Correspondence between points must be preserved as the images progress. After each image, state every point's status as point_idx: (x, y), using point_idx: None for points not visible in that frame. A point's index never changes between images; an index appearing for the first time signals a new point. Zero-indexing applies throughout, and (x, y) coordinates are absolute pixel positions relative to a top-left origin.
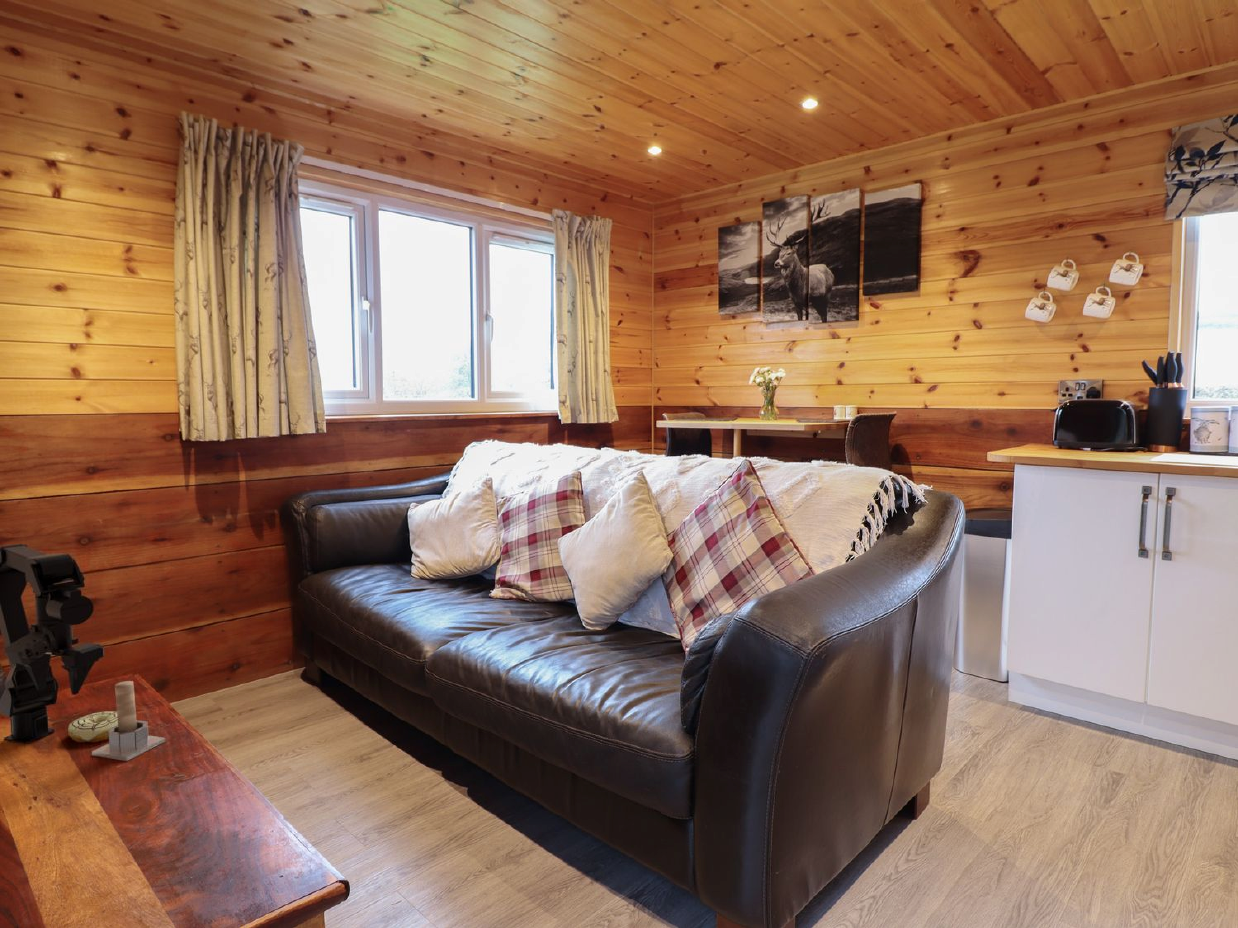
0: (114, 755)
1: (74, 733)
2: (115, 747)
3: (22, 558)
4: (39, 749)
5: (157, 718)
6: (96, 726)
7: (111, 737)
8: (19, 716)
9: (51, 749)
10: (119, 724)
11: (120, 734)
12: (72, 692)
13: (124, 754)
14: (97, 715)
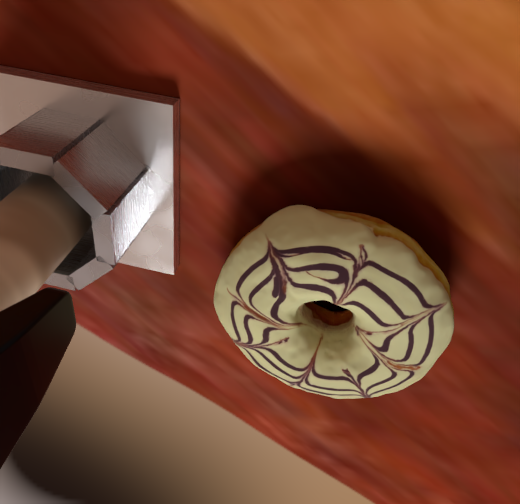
0: (39, 79)
1: (354, 223)
2: (56, 121)
3: None
4: (509, 133)
5: (218, 380)
6: (267, 267)
7: (51, 145)
8: None
9: (438, 138)
10: (18, 208)
11: None
12: (34, 298)
13: (4, 90)
14: (361, 363)
